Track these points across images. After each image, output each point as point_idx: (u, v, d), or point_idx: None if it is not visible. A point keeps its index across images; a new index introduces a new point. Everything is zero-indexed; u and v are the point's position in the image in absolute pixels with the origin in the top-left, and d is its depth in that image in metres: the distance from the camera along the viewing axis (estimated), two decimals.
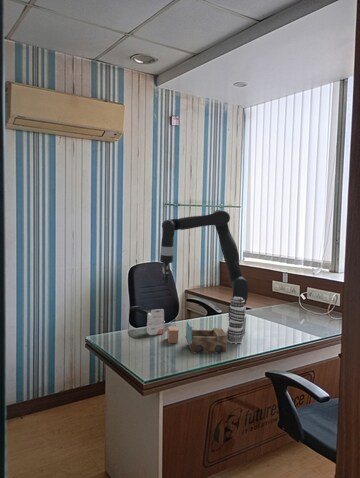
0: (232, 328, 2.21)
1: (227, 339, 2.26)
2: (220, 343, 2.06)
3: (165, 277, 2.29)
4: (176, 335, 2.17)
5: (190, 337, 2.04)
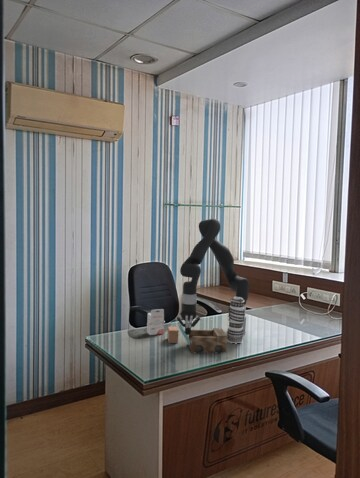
0: (232, 328, 2.21)
1: (227, 339, 2.26)
2: (220, 343, 2.06)
3: (190, 328, 2.09)
4: (176, 335, 2.17)
5: (186, 338, 2.04)
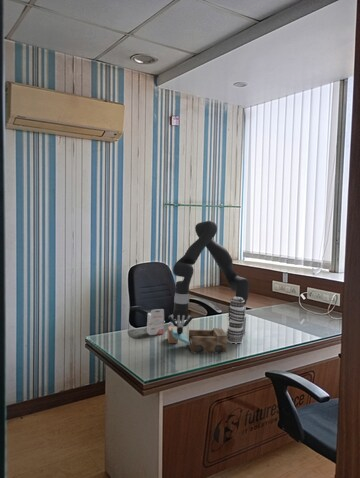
0: (232, 328, 2.21)
1: (227, 339, 2.26)
2: (220, 343, 2.06)
3: (182, 327, 2.08)
4: None
5: (183, 340, 2.04)
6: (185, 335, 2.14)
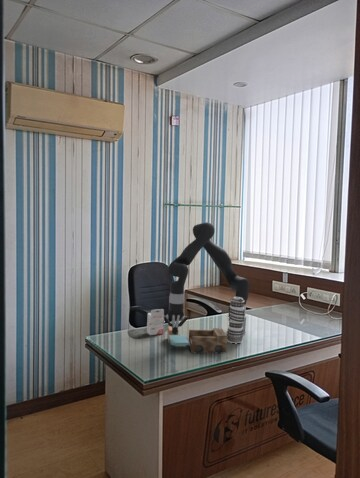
0: (232, 328, 2.21)
1: (227, 339, 2.26)
2: (220, 343, 2.06)
3: (177, 328, 2.08)
4: None
5: (182, 343, 2.04)
6: (184, 336, 2.14)
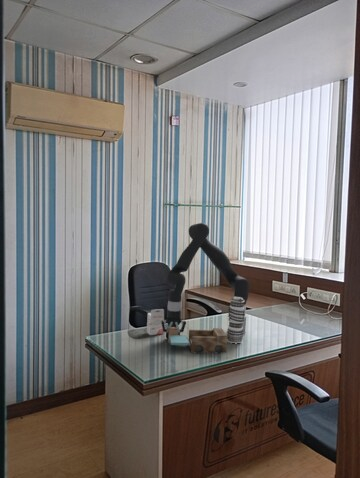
0: (232, 328, 2.21)
1: (227, 339, 2.26)
2: (220, 343, 2.06)
3: None
4: None
5: (182, 343, 2.04)
6: (184, 336, 2.14)
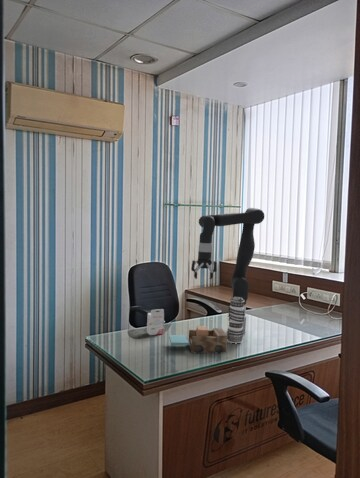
0: (232, 328, 2.21)
1: (227, 339, 2.26)
2: (220, 343, 2.06)
3: None
4: (206, 335, 2.07)
5: (182, 343, 2.04)
6: (184, 336, 2.14)
